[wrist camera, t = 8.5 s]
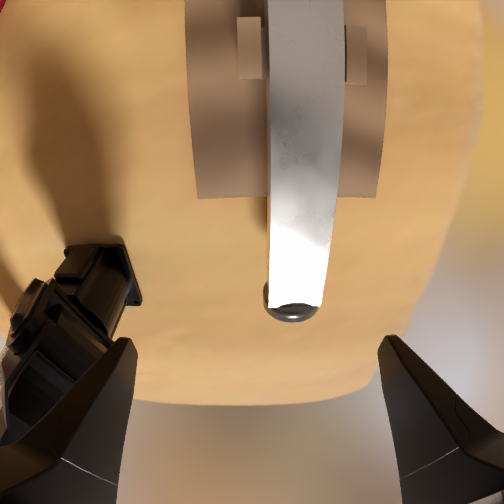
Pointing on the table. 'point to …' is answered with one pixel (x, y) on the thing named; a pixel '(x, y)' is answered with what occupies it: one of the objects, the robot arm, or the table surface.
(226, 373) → the table surface
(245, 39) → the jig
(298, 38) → the shaft
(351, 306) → the table surface
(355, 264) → the table surface
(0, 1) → the canned food
